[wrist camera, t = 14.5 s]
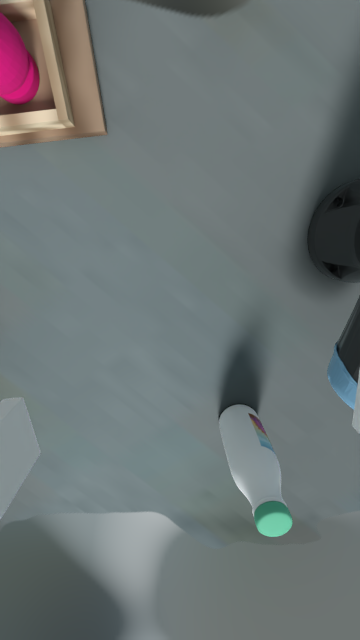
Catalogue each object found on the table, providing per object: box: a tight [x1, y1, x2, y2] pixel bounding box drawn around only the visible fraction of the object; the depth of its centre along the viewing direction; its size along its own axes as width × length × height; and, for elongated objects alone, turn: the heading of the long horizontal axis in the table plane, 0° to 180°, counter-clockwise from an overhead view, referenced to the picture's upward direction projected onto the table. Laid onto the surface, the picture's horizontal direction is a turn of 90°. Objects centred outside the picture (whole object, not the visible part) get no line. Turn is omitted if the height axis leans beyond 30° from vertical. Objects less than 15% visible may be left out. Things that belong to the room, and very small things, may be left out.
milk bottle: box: [219, 404, 292, 537], centre depth 43 cm, size 8×8×20 cm
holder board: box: [0, 0, 107, 147], centre depth 33 cm, size 20×14×4 cm
